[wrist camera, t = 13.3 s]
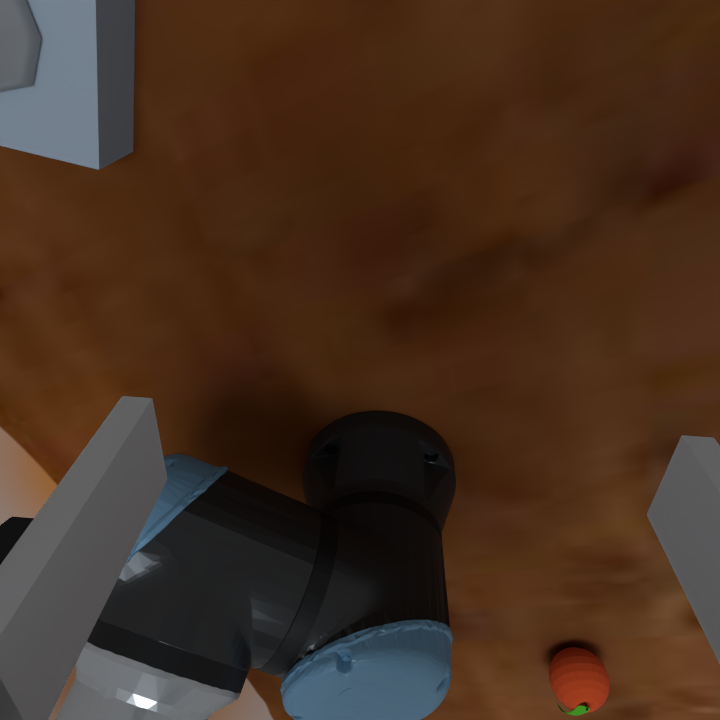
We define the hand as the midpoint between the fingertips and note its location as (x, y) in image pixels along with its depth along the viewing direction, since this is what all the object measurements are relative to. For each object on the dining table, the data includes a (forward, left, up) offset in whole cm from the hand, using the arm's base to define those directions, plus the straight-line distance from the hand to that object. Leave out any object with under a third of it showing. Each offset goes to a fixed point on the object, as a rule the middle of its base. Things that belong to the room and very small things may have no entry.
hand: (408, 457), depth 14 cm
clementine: (-59, -26, -32) cm, 72 cm away
